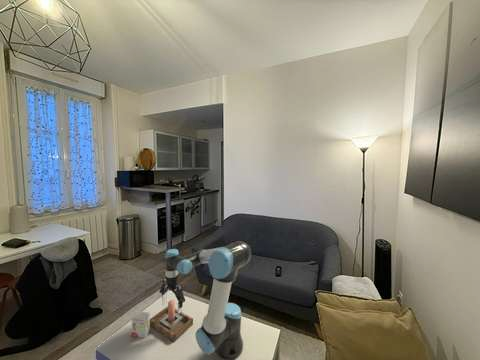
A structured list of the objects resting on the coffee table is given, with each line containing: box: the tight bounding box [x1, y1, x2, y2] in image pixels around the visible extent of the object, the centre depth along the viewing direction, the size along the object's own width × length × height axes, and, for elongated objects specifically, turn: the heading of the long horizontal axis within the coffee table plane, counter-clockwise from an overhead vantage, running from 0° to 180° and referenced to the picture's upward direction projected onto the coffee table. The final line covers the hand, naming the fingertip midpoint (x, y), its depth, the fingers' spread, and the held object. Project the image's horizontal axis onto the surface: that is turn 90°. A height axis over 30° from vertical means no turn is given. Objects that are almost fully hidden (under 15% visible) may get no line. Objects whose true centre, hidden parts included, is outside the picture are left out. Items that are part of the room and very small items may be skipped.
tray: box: [150, 305, 194, 343], centre depth 124 cm, size 22×15×4 cm
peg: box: [167, 299, 176, 324], centre depth 123 cm, size 4×4×14 cm
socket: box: [159, 313, 183, 331], centre depth 124 cm, size 10×10×3 cm
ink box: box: [131, 311, 151, 338], centre depth 116 cm, size 9×5×12 cm, turn 88°
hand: (172, 308), depth 123 cm, fingers open, 13 cm apart
